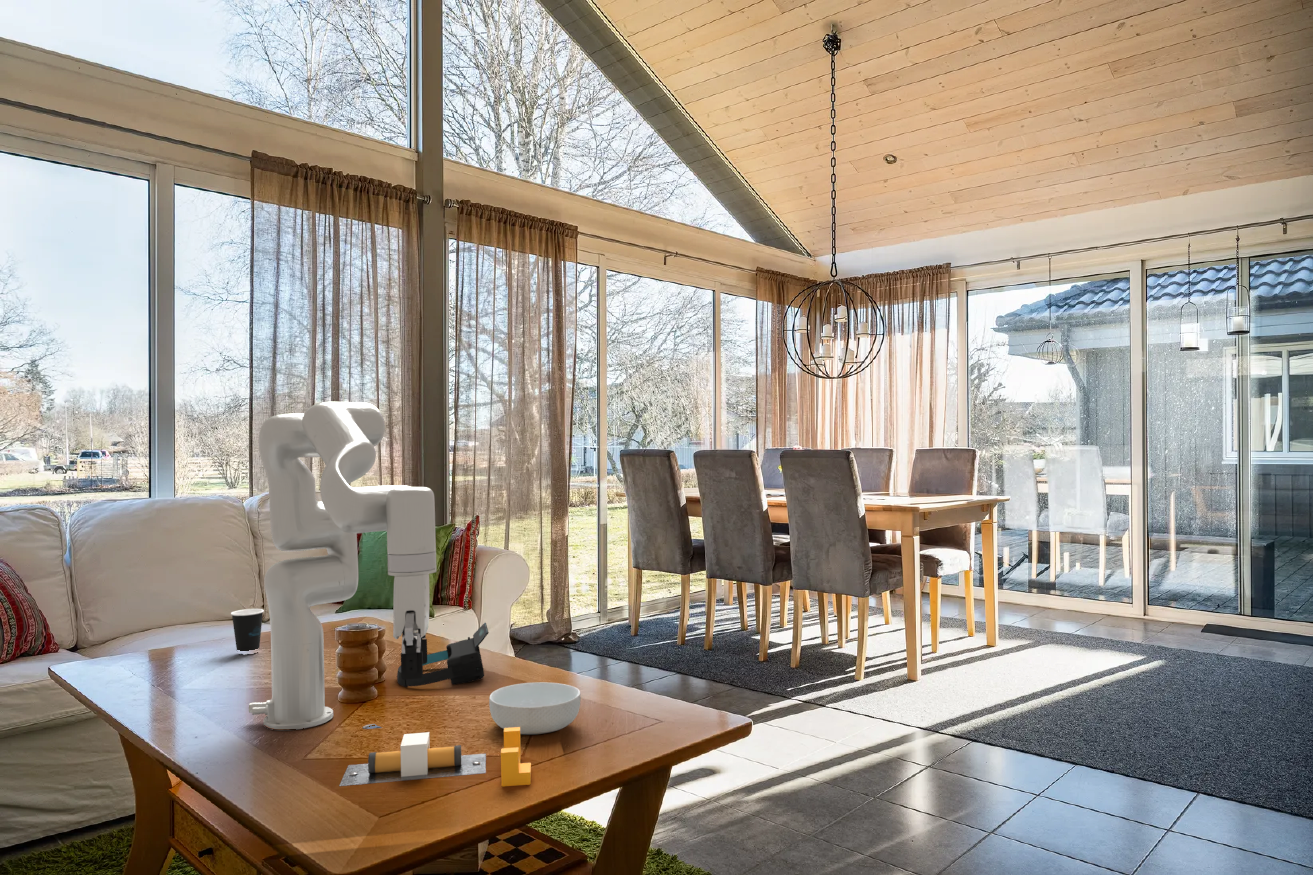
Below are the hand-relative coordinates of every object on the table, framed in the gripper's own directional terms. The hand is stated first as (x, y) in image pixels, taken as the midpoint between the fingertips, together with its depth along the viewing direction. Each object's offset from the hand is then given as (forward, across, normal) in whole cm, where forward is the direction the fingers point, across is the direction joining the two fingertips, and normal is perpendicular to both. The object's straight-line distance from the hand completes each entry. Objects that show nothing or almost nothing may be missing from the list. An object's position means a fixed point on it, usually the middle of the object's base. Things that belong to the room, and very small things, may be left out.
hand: (414, 671), depth 141 cm
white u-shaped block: (+16, 0, 0) cm, 16 cm away
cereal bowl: (+17, -18, +20) cm, 32 cm away
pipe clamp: (+18, +4, +16) cm, 24 cm away
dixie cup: (+16, -102, -51) cm, 116 cm away
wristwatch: (+17, -21, -6) cm, 28 cm away
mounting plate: (+17, 0, 0) cm, 17 cm away
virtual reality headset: (+17, -64, +1) cm, 66 cm away
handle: (+16, 0, 0) cm, 16 cm away
